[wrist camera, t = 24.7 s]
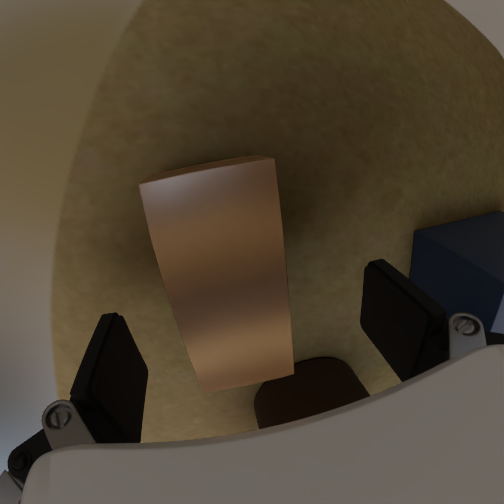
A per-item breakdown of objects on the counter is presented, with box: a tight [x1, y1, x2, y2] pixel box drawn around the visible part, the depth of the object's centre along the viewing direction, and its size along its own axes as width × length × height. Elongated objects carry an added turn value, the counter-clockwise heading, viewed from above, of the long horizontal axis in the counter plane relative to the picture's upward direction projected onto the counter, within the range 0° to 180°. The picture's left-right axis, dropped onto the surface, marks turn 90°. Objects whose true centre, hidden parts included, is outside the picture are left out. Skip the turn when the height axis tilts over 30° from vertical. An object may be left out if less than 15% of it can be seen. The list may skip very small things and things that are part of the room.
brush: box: [138, 155, 294, 393], centre depth 14 cm, size 11×5×5 cm, turn 8°
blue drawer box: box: [409, 211, 504, 334], centre depth 18 cm, size 15×14×9 cm
